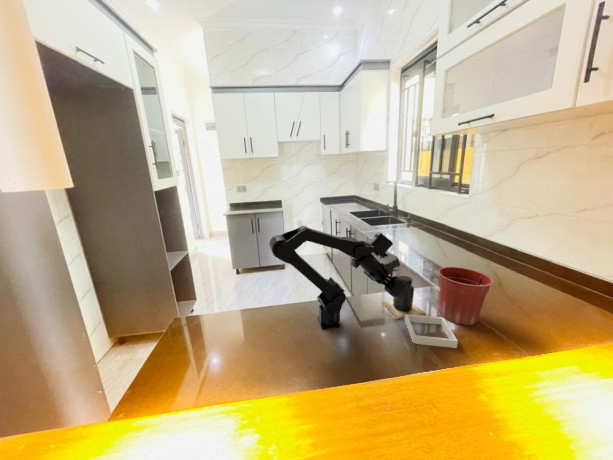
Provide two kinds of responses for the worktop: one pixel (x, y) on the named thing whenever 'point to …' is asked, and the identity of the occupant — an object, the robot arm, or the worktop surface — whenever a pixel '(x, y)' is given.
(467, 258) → the worktop surface
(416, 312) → the birch board
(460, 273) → the flower pot
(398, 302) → the supplement bottle
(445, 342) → the frame
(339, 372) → the worktop surface
